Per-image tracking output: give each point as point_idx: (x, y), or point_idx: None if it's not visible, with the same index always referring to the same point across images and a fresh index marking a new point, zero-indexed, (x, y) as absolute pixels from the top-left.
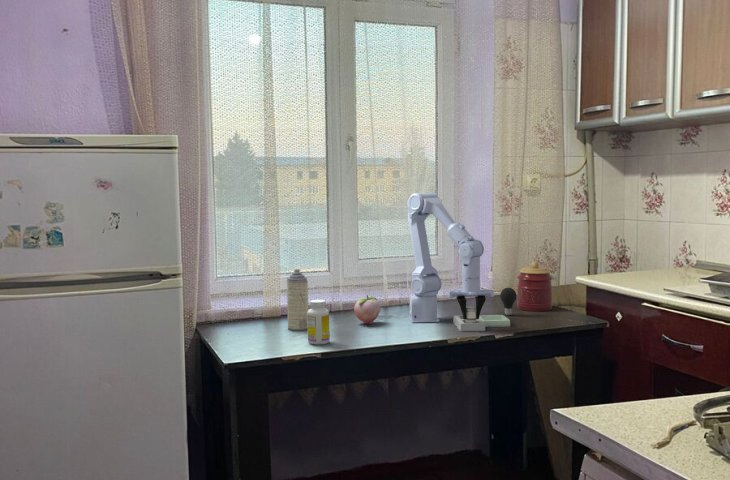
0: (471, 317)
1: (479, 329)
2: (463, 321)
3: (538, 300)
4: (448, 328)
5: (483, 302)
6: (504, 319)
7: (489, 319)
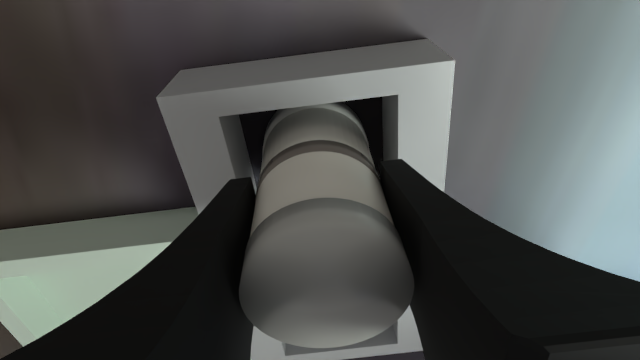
0: (319, 158)
1: (234, 67)
2: None
3: None
4: (501, 156)
5: (51, 342)
6: (43, 326)
7: None
